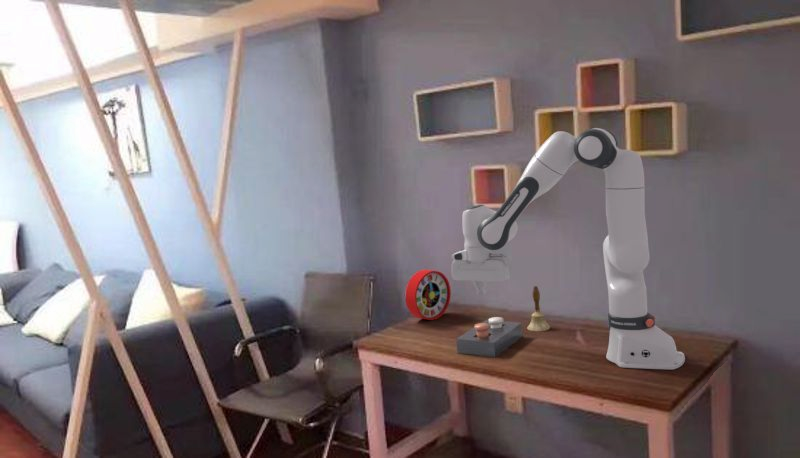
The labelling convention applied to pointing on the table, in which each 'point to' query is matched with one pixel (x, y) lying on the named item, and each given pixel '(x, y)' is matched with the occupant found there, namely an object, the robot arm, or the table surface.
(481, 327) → the peach mushroom-shaped knob
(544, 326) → the hand bell
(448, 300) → the toy clock
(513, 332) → the button console
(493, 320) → the white plunger
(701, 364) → the table surface
